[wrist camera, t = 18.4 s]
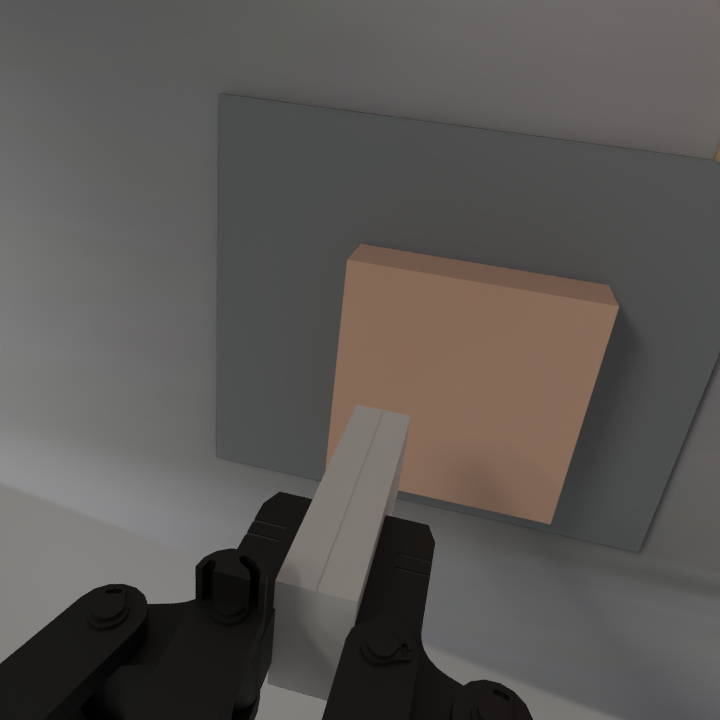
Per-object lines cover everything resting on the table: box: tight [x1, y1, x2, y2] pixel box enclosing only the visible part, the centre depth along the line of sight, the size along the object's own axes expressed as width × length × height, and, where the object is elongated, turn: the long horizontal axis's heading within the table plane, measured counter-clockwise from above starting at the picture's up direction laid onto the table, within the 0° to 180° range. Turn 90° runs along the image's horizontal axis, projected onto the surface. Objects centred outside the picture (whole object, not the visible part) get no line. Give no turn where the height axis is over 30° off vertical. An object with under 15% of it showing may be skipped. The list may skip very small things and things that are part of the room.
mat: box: [216, 94, 720, 553], centre depth 22 cm, size 14×17×1 cm
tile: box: [325, 244, 619, 524], centre depth 21 cm, size 8×2×8 cm
